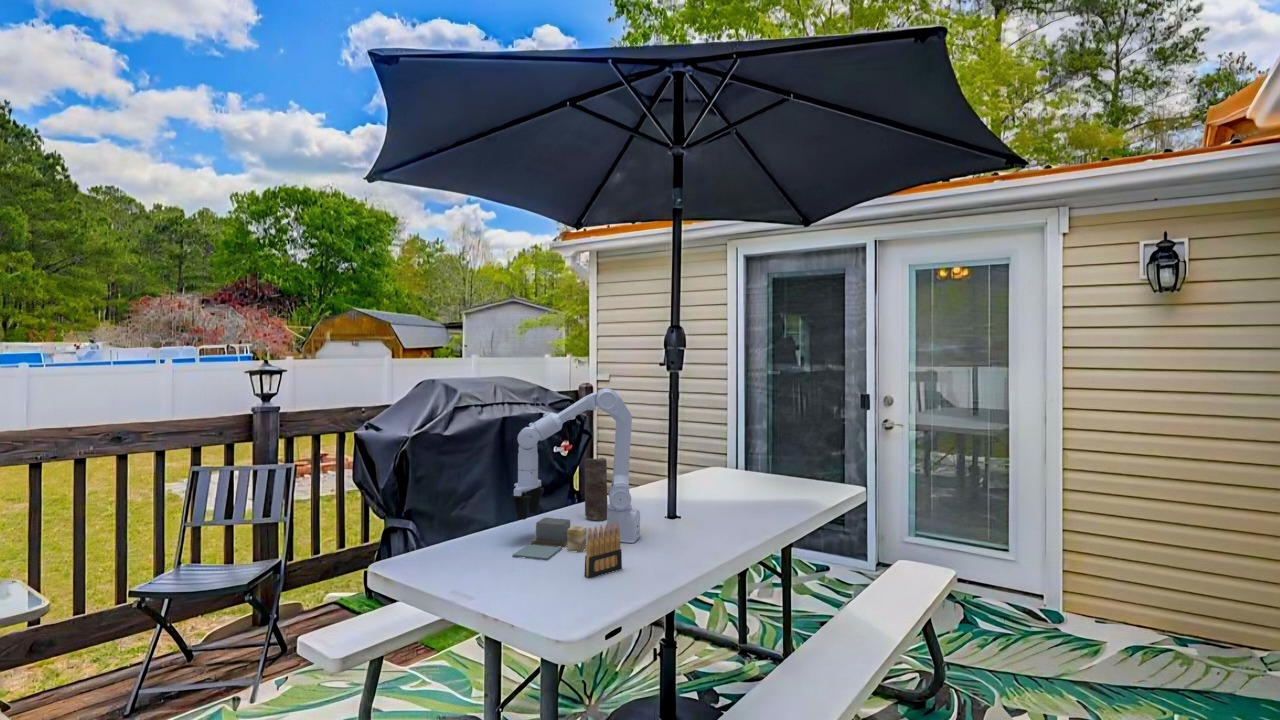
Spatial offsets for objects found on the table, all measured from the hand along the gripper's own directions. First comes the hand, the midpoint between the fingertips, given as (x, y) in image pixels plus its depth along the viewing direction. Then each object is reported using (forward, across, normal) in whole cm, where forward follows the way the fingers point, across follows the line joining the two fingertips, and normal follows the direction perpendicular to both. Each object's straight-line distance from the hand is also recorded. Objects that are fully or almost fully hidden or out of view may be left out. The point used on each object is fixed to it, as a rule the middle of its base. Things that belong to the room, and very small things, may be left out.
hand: (527, 515), depth 195 cm
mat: (+7, +11, +8) cm, 15 cm away
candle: (+7, -29, +11) cm, 32 cm away
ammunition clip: (+7, +21, +30) cm, 37 cm away
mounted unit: (+7, 0, +8) cm, 11 cm away
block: (+7, +5, +17) cm, 19 cm away
